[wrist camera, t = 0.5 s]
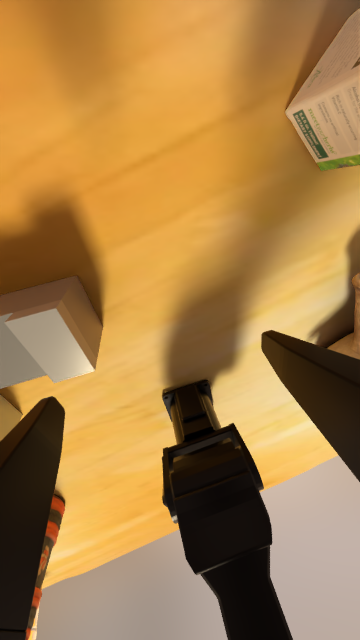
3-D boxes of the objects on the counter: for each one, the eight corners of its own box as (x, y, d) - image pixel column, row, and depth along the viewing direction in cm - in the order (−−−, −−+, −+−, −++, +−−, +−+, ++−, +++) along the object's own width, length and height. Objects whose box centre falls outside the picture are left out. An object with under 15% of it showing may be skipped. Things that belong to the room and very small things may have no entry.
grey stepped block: (103, 326, 20) (94, 370, 15) (21, 349, 20) (-17, 404, 14) (77, 274, 17) (55, 308, 12) (-21, 300, 17) (-88, 347, 11)
